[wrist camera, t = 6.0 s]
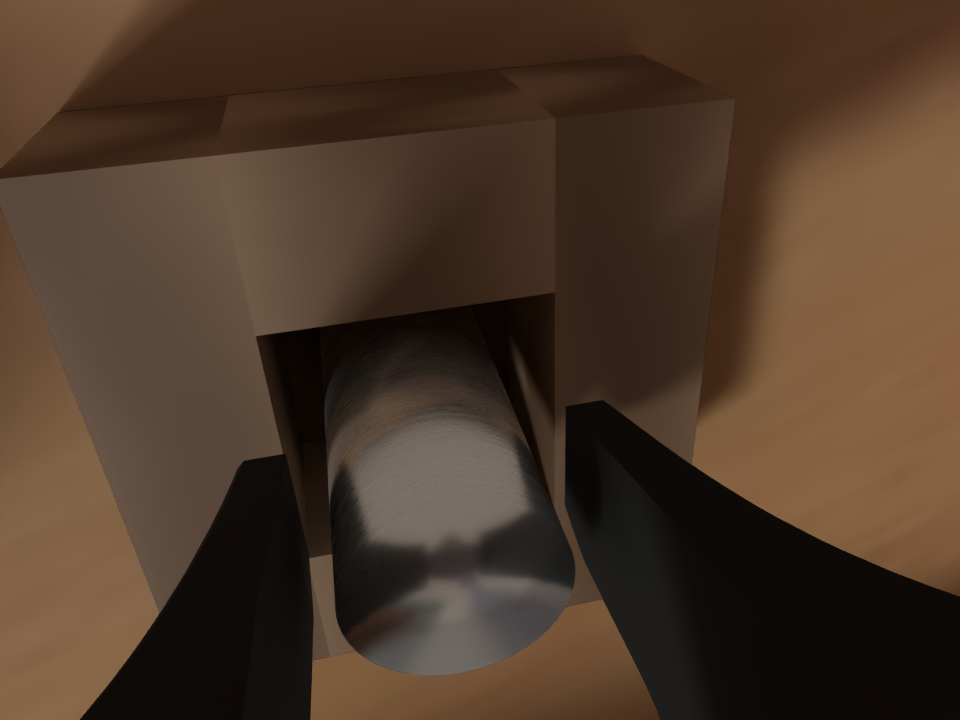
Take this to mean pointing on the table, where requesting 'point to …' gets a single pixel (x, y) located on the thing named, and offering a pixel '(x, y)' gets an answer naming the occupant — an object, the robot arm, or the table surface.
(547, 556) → the round metal peg
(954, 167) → the table surface
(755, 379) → the table surface
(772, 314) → the table surface
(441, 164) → the square hole block
